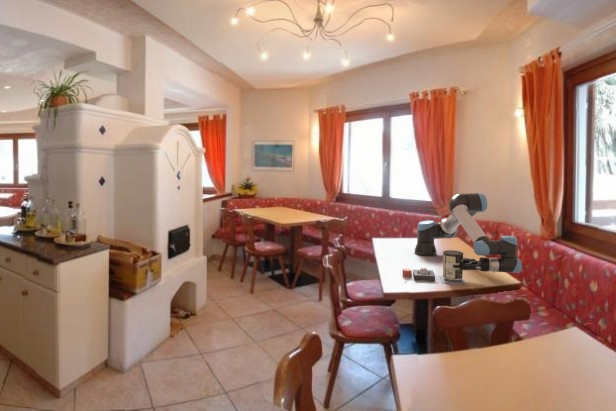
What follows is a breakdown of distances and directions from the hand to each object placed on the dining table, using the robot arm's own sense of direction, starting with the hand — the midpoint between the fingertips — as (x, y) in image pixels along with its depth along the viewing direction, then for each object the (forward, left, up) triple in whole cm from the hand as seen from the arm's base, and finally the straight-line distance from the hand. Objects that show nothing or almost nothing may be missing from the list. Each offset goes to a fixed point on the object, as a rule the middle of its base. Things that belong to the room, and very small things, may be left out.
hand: (444, 262), depth 196 cm
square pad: (0, +4, -10) cm, 11 cm away
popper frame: (-2, -11, -10) cm, 15 cm away
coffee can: (0, +4, -8) cm, 9 cm away
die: (-4, -20, -10) cm, 22 cm away
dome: (-2, -11, -8) cm, 14 cm away
